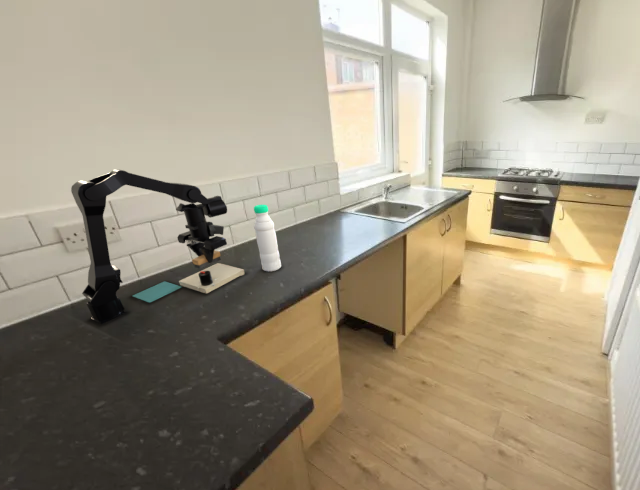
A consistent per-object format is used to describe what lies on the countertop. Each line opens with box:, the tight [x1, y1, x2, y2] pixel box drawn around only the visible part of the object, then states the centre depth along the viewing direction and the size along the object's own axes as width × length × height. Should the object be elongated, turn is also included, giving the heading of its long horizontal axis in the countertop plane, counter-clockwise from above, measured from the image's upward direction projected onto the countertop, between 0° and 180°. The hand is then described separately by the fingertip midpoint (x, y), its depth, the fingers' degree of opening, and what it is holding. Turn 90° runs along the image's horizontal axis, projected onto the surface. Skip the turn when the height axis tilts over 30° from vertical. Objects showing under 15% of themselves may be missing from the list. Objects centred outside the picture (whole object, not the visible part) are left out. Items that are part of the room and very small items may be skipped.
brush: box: [191, 249, 222, 270], centre depth 116 cm, size 9×3×3 cm, turn 154°
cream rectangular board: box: [178, 262, 246, 294], centre depth 115 cm, size 17×15×2 cm
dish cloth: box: [132, 280, 182, 304], centre depth 109 cm, size 11×10×1 cm
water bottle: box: [253, 204, 282, 273], centre depth 118 cm, size 7×7×25 cm
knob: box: [198, 270, 213, 286], centre depth 108 cm, size 4×4×4 cm
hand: (207, 261), depth 116 cm, fingers closed on brush, 3 cm apart
